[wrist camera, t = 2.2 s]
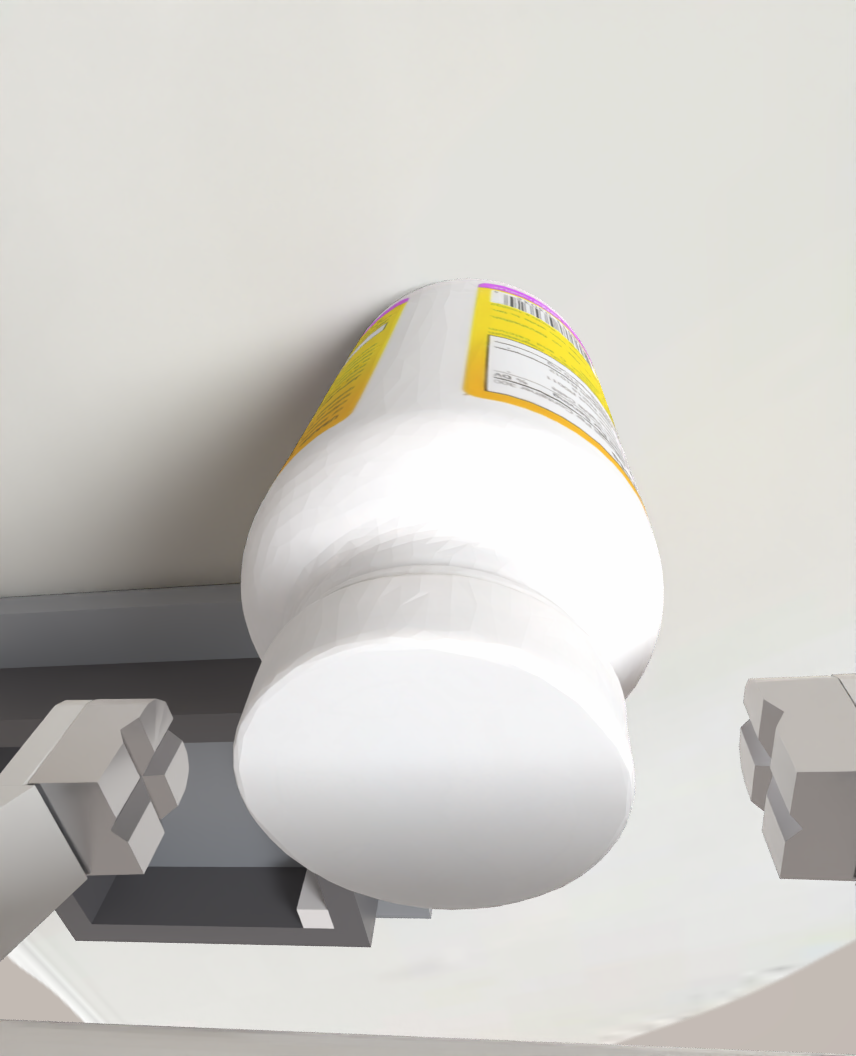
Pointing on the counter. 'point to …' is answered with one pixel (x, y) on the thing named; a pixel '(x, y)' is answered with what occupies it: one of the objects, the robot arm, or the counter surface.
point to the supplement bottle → (450, 612)
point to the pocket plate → (211, 792)
